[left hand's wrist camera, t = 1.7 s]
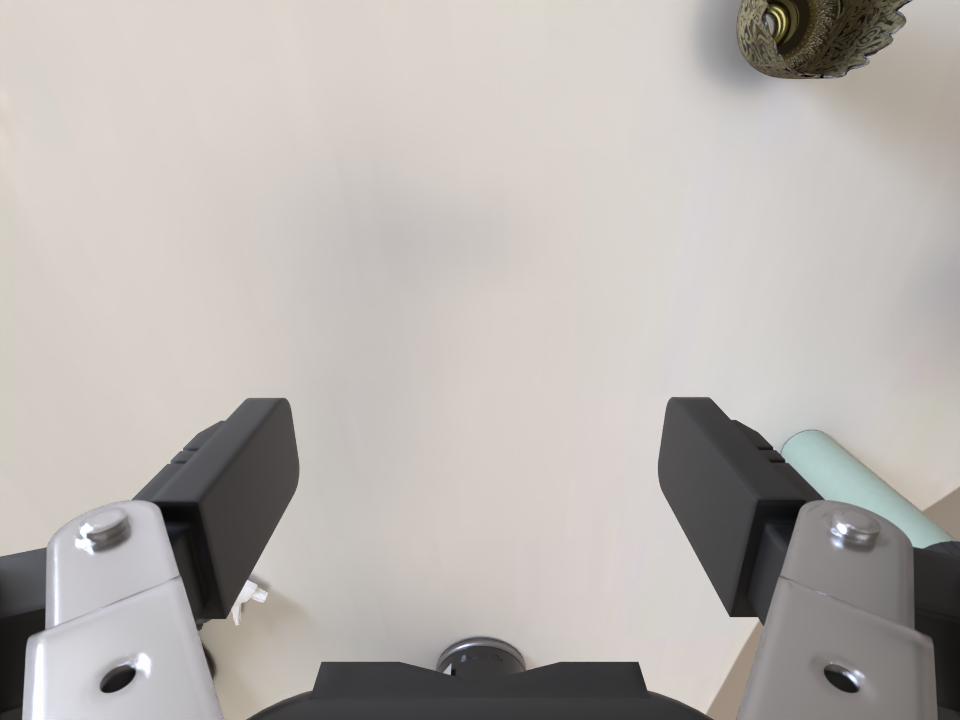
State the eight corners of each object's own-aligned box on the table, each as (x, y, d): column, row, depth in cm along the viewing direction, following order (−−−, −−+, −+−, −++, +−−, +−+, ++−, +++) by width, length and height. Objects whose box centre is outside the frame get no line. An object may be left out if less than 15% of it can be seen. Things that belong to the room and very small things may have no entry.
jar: (841, 435, 45) (1009, 566, 30) (818, 477, 46) (967, 621, 32) (794, 425, 44) (941, 552, 30) (772, 468, 46) (902, 608, 32)
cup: (681, 60, 34) (738, 34, 27) (749, -66, 32) (832, -133, 24) (775, 113, 35) (854, 103, 28) (847, -4, 33) (955, -50, 25)
